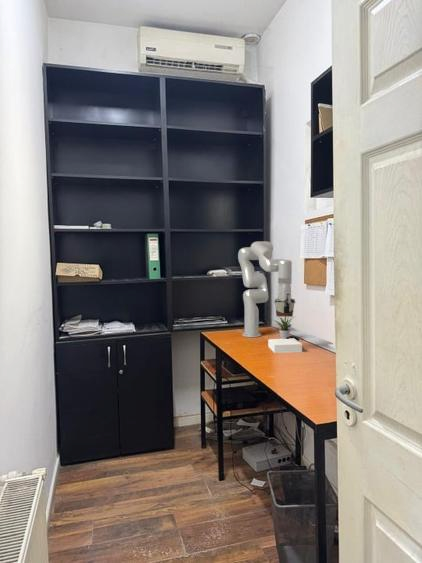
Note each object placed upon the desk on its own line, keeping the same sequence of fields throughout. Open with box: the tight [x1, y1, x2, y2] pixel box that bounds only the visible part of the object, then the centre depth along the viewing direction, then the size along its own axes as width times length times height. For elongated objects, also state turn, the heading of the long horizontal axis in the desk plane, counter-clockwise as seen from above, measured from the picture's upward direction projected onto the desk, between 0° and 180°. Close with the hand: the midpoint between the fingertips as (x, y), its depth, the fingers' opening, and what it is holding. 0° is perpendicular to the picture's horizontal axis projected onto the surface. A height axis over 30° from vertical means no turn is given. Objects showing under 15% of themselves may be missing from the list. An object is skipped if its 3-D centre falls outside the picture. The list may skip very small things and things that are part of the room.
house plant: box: [273, 316, 297, 339], centre depth 249 cm, size 14×14×16 cm
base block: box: [267, 337, 303, 354], centre depth 224 cm, size 14×16×5 cm
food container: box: [273, 298, 296, 318], centre depth 223 cm, size 12×6×10 cm, turn 86°
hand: (284, 311), depth 222 cm, fingers closed on food container, 5 cm apart
